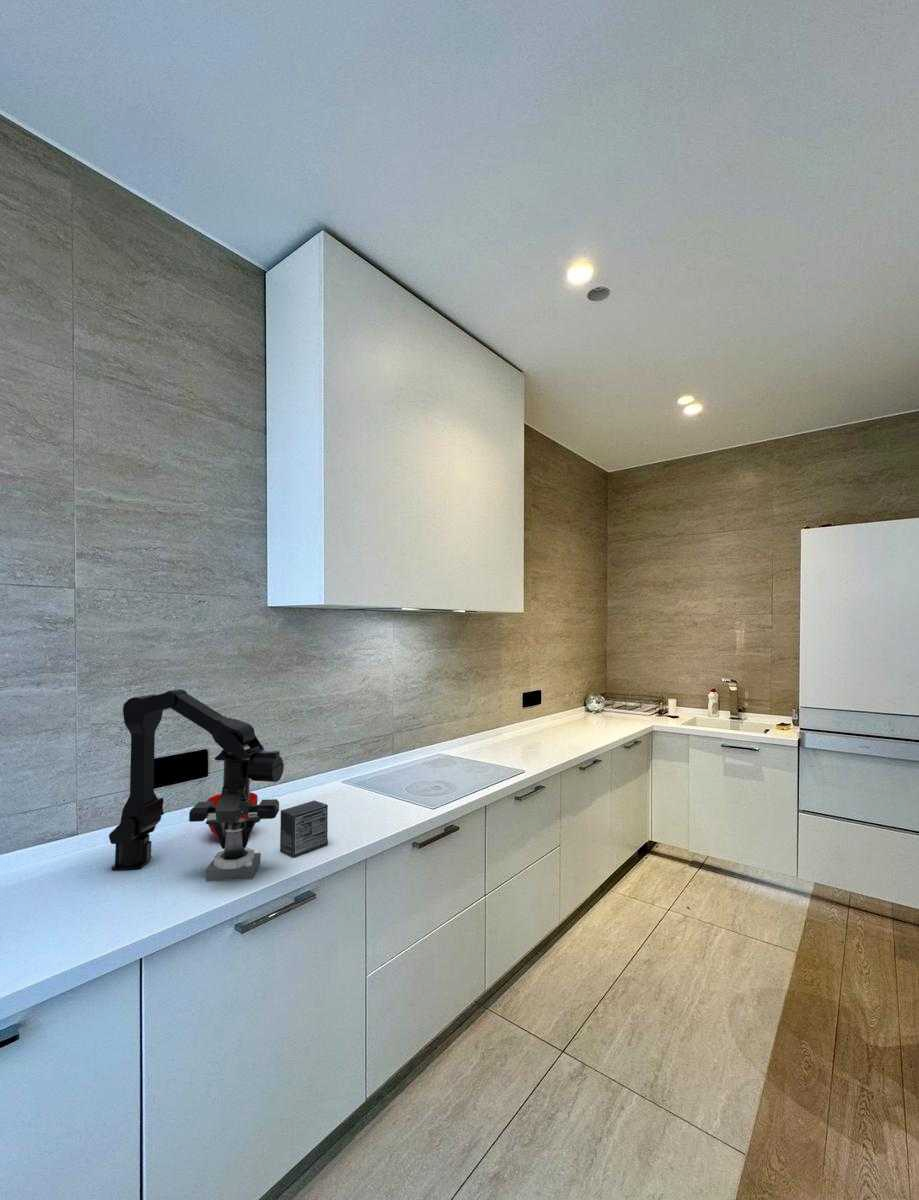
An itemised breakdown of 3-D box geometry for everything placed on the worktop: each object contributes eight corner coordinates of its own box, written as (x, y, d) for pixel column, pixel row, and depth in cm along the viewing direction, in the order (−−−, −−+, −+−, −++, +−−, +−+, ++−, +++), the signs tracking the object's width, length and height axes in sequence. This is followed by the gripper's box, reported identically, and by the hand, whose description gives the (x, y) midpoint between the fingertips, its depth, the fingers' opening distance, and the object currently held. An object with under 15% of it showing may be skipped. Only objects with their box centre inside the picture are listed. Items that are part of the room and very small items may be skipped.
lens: (220, 861, 123) (221, 825, 123) (226, 852, 127) (227, 818, 128) (242, 860, 123) (243, 824, 124) (247, 851, 128) (248, 817, 128)
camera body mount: (205, 881, 120) (205, 863, 120) (216, 865, 128) (217, 848, 129) (252, 879, 122) (252, 860, 122) (260, 863, 130) (260, 846, 130)
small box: (313, 838, 145) (314, 799, 145) (328, 845, 141) (329, 804, 141) (278, 851, 137) (279, 809, 137) (293, 858, 133) (294, 815, 133)
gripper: (181, 791, 117) (178, 865, 116) (271, 788, 119) (269, 860, 119) (198, 776, 128) (196, 844, 127) (280, 774, 130) (278, 840, 130)
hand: (234, 847), depth 125 cm, fingers closed on lens, 4 cm apart
